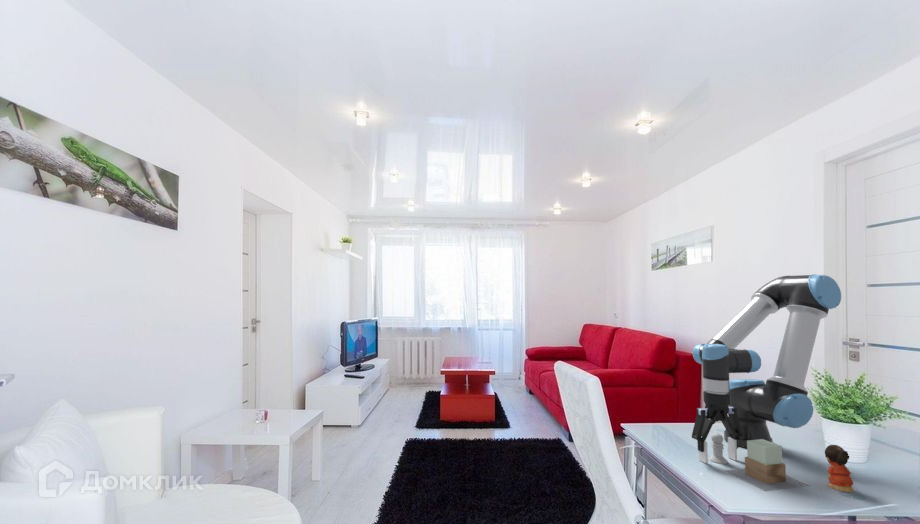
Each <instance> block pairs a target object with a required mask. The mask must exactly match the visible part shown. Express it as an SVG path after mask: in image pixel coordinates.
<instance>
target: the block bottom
mask: <svg viewBox="0 0 920 524" xmlns="http://www.w3.org/2000/svg"><path fill="white" fill-rule="evenodd" d="M744 468H745V474H747V475H749V476H751V477H753V478H755V479H757V480H759V481H761V482H764V483H766V484H770V483H779V482H786V475H787V474H786V463H785V462H784V463H783V462H782V464H772V465H764V464H762V463H759V462H757V461H755V460H752V459H750V458H748V457H747V456H744Z"/></svg>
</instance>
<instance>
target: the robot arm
mask: <svg viewBox="0 0 920 524" xmlns="http://www.w3.org/2000/svg"><path fill="white" fill-rule="evenodd" d="M750 299H751V300H750V301H749V302H747V304H746V305H745V306H744V307H743V308H742V309H741V310H740V311H739V312H738V313H737V314H736V315H735V316H734V317H732V319H730V320H729V321H728V322H727V323H726V324H725V325H724V326H723V327H722V328H721V329H720V330H719V331H718V332H717V333H716V334H715V335H714V336H713V337H712V338H711V339H710V340H709V341H707V343H699V344H696V345H695V346H694V347H693V350H692V357H693V359H694V361H695V362H696V363H698V364H699V365H702V385H703V387H702V388H703V390H704V391H703V403H704V404H705V406H704V408H701V407H697V408H696V417H695V421H694V425H693V428H692V429H693V430H692V433H691V438H692V439H694V440H696V442H697V451H698V454H699V455H698V456H699V457H698V458H699V460H698V461H700V462H703V463H704V464H708V463H709V457H708V455H709V454H708V442H707V441H706V440H707V438H708V437H709V433H710V432H711V429H712V427H713V425H715V424H716V422H721V423H722V424H723V427H724V429H725V430H724V431H723V441H726V442H727V452H728V453H727V457H728V459H731V460H733V461H738V448H739V447H741V448H745V449H747V440H759V439H764V440H767V441H769V442H772V443H774V441H773V437H771V434H770V431H769V427H768V424H767V421H768V422H770V423H774V424H776V425H779V426H781V427H786V428H791V429H799V428H801V427H804V426H806V425H807V424H808V423H809V422H810V420H811V418H812V417H813V415H814V406H813V401H812V399H811V398H810V397H809V396H808V393H809V391H808V390H807V388H806V387H805V382H806V378H807V375H808V369H809V366H810V362H811V359H812V354H813V351H814V346H815V343H816V338H817V334H818V330H819V326H820V323H821V320H822V319H824V318H826V317H828V314H829V312H830V310H833V309H836V308H837V307H839V305H840V304H841V301H842V291H841V288H840V286H839V284H838V283H837V281H836V280H835V279H834V278H833V277H831V276H829V275H825V274H816V273H815V274H806V275H799V274H798V275H784V276H783V275H782V276H778V277H777V278H774V279H773V280H772V279H771V281H769V282H767V283H765V284H764V285H762V286H761V287H760V288H759V289H757V290H756V291H755V292H754V293H753V294H752V295H751V298H750ZM784 308H786V310H787V311H788V312H789V315H788V319H787V323H786V325H785V330H784V335H783V339H782V340H781V341H782V342H781V345H780V350H779V354H778V357H777V360H776V364H775V369H774V372H773V374H772V375H773V376H772V377H769V378H767V379H766V381H765V380H763V379H756V378H753V379H752V378H733V379H730V374H740V373H741V374H745V373H746V374H749V373H755V372H758V371H759V370H760V369H761V367H762V357H761V356H760V355H759V354H758V352H756V351H755V350H752V349H745V348H744V349H736V348H737V347H739V345H741V343H743V341H744V340H745V339H746V338H748V336H749V335H750V334H751V333H752V332H753V331H755V329H756V328H758V326H760V324H762V322H764V320H766V319H767V317H769V315H770V314H771V315H772V314H776V313H777V312H778V311H779V310H781V309H784Z"/></svg>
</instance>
